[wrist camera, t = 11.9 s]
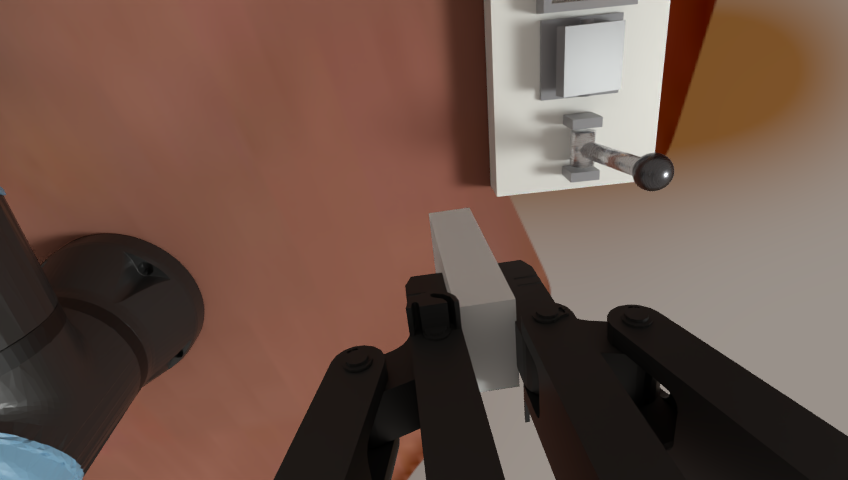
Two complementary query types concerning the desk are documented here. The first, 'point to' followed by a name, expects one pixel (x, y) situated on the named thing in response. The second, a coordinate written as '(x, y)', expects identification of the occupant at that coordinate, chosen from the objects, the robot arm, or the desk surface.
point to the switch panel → (556, 116)
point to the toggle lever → (620, 160)
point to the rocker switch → (589, 57)
